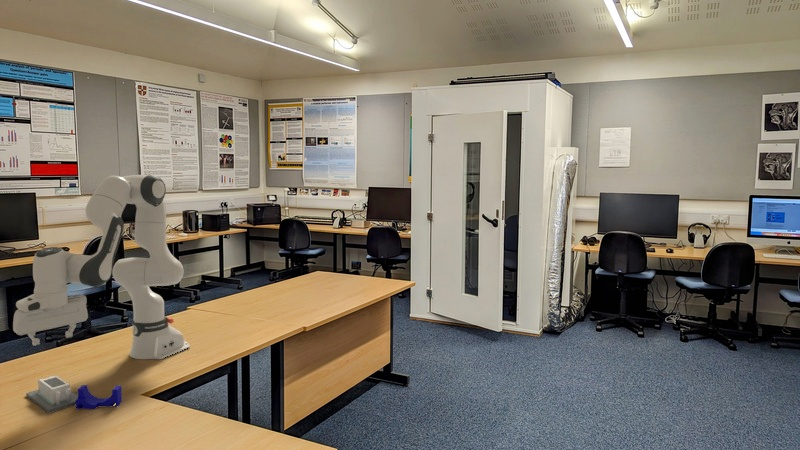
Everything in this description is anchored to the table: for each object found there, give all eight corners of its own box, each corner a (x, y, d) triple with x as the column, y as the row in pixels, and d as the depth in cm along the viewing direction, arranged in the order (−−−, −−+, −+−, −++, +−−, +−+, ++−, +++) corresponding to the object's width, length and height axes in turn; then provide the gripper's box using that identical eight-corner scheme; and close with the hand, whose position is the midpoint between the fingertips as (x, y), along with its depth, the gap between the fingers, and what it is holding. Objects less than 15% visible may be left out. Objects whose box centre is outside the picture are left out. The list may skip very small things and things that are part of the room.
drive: (56, 388, 175) (56, 375, 175) (70, 397, 170) (69, 384, 169) (39, 393, 171) (39, 379, 171) (52, 403, 166) (52, 389, 165)
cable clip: (75, 409, 165) (75, 391, 165) (82, 402, 170) (82, 385, 169) (115, 409, 167) (115, 391, 166) (121, 403, 171) (121, 385, 170)
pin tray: (60, 386, 180) (59, 372, 179) (83, 401, 170) (82, 387, 169) (26, 396, 172) (25, 381, 171) (48, 413, 162) (47, 397, 161)
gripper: (81, 290, 176) (83, 330, 178) (9, 303, 160) (12, 346, 162) (90, 294, 173) (91, 334, 175) (17, 308, 156) (20, 352, 158)
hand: (53, 340), depth 168 cm, fingers open, 8 cm apart
